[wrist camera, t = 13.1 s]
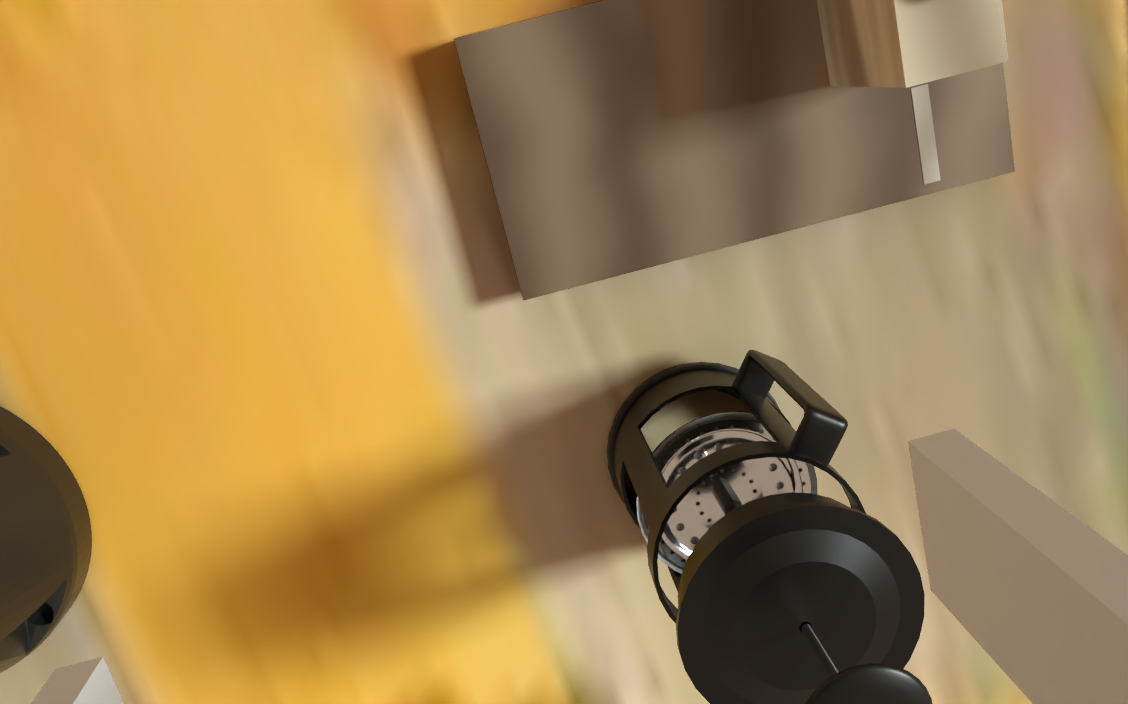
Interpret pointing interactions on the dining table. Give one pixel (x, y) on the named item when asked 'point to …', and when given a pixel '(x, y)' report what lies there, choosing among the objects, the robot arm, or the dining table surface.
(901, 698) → the french press
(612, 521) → the dining table surface
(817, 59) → the board
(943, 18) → the block
